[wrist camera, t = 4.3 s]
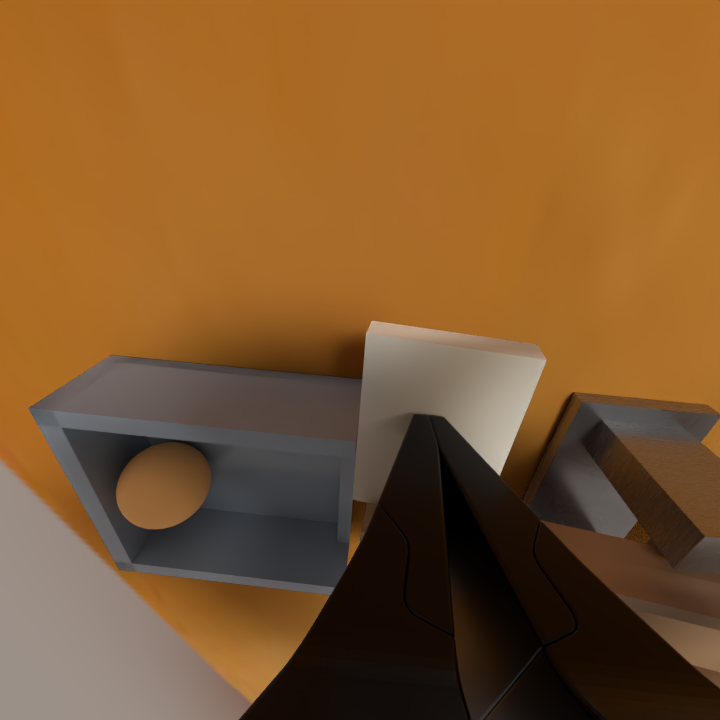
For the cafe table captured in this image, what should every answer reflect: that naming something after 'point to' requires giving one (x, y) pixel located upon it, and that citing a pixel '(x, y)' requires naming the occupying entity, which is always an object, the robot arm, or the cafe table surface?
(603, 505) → the stand
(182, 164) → the cafe table surface
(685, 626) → the lever
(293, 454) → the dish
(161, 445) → the ball
